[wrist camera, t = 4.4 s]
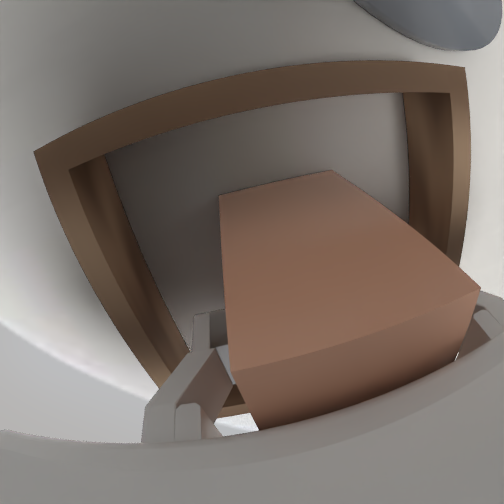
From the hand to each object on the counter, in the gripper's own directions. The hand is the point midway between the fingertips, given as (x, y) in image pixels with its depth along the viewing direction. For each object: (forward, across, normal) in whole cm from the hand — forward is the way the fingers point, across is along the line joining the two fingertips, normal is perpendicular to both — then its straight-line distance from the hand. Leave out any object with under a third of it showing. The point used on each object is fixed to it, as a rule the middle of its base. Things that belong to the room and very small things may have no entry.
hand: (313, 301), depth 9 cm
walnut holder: (+4, 0, 0) cm, 4 cm away
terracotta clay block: (+4, 0, 0) cm, 4 cm away
